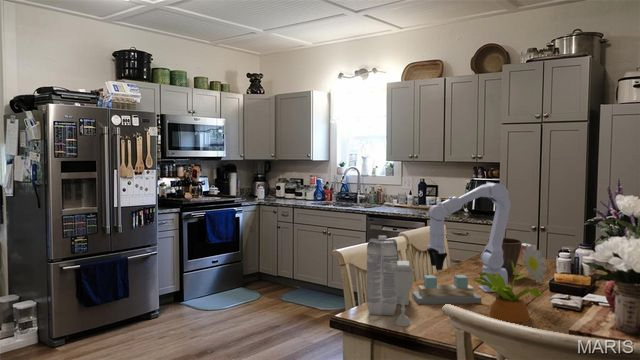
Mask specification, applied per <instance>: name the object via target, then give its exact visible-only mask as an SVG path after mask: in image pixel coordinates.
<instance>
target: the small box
mask: <svg viewBox="0 0 640 360" xmlns="http://www.w3.org/2000/svg"><path fill="white" fill-rule="evenodd" d="M526 244H527V245H528V247H529V249H530V246H531V244H529V243H526V242H525V243H524V242H523V243H522V245H521V250H520V255H519V258H518V262H517V265H519V266H522V267H523V266H525V267H526V264H525V261H524V260H523V258H524V254H523V251H522V250H523V249H524V250H525V251H526ZM536 249H537V245H534V252H535V250H536ZM525 267H524V268H525Z"/></svg>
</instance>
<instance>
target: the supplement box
mask: <svg viewBox="0 0 640 360" xmlns="http://www.w3.org/2000/svg"><path fill="white" fill-rule="evenodd" d="M397 267H408V268H411V267H410V261H409V260H397ZM404 301H405V303H406V304H405V306H409V305H410V304H409V303H410V293H409V294H408V296H407V297H405V300H404ZM401 302H402V298H401V297H399V295H398V293H397V305H398V306H399V305H401ZM401 306H402V305H401Z"/></svg>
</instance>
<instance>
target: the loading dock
mask: <svg viewBox="0 0 640 360" xmlns="http://www.w3.org/2000/svg"><path fill="white" fill-rule="evenodd" d="M411 297H412V298H413V300H414V301H415V302H416V303H417V304H418V305H425V304H426V305H428V304H429V305H431V304H432V305H433V304H434V305H436V304H437V305H438V304H439V305H442V304H444V305H445V304H449V305H450V304H482V297H481V296H480V295H478V293H476V292H475V291H474V296H436V297H421V295H420V294H419V293H418V290H417V291H416V290H415V291H412V290H411Z"/></svg>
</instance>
